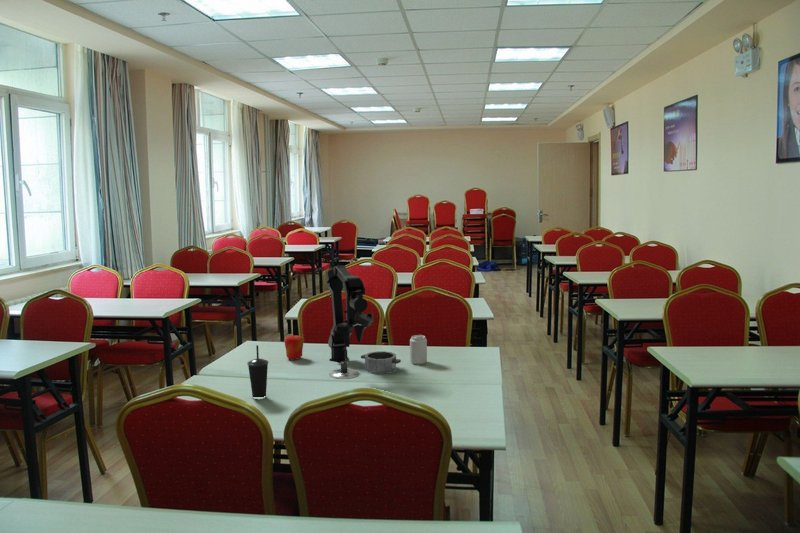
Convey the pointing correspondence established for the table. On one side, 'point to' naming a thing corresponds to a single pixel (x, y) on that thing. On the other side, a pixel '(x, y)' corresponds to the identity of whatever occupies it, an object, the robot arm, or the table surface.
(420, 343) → the can
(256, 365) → the drinking cup
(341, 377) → the lid
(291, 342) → the red bell pepper
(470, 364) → the table surface
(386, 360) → the pot
